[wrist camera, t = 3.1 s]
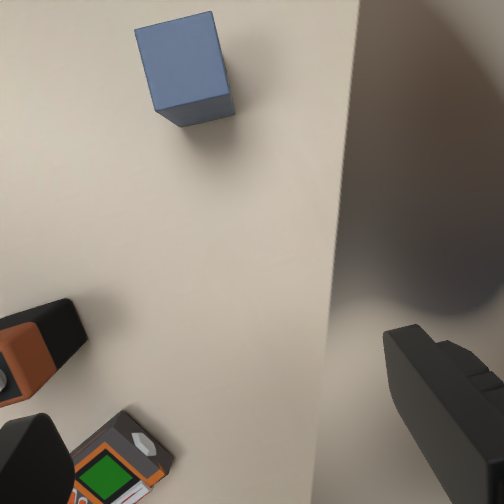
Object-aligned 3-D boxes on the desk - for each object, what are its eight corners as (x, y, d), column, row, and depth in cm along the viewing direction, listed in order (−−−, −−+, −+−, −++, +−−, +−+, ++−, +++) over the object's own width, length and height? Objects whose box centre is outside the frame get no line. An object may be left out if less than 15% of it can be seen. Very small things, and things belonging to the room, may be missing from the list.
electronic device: (0, 520, 35) (113, 427, 32) (20, 493, 37) (126, 404, 35) (56, 566, 36) (170, 479, 33) (72, 535, 38) (178, 453, 36)
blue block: (179, 127, 30) (154, 111, 22) (164, 67, 29) (133, 28, 22) (235, 114, 30) (230, 93, 22) (222, 53, 29) (211, 9, 21)
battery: (90, 340, 34) (24, 408, 24) (19, 362, 34) (-74, 438, 24) (71, 295, 33) (-6, 346, 23) (-2, 318, 33) (-107, 378, 24)
